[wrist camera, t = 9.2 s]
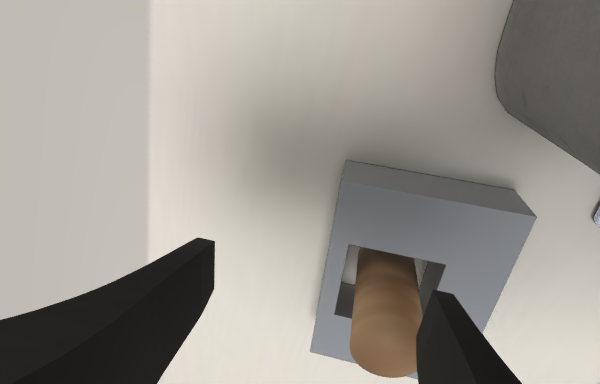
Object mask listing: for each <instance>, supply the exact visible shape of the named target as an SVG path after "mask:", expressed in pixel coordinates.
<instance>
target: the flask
mask: <svg viewBox="0 0 600 384" xmlns="http://www.w3.org/2000/svg"><path fill="white" fill-rule="evenodd" d="M495 80H496V88H497V96H498V98H499V100H500V101H501V103H502V104H503V106H504V108H505V109H506V111H507V112H508V113H509V114H511V115H512V116H514V117H515V118H517V119H518V120H519V121H521V122H522V123H524V124H525V125H527V126H528V127H530V128H531V129H533V130H534V131H536V132H537V133H539V134H540V135H542V136H543V137H545V138H546V139H548V140H549V141H551V142H552V143H554V144H555V145H557V146H558V147H560V148H561V149H563V150H564V151H566V152H567V153H569V154H570V155H572V156H573V157H575V158H576V159H578V160H579V161H581V162H582V163H584V164H585V165H587V166H588V167H590V168H591V169H593V170H594V171H596V172H597V173H599V174H600V0H514V2H513V5H512V8H511V11H510V13H509V16H508V19H507V22H506V25H505V29H504V32H503V35H502V39H501V42H500V46H499V49H498V54H497V63H496V71H495Z"/></svg>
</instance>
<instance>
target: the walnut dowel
mask: <svg viewBox="0 0 600 384" xmlns="http://www.w3.org/2000/svg"><path fill="white" fill-rule="evenodd" d="M422 319H423V317H422V310H421V303H420V296H419V289H418V282H417V275H416V269H415V262H414V258H412V257H408V256H403V255H398V254H393V253H389V252H384V251H379V250H374V249H370V248H365V247H362V248H361V250H360V252H359V255H358V264H357V274H356V284H355V294H354V304H353V314H352V324H351V335H350V352H351V355H352V357H353V359H354V360H355V361H356V363H357V364H358V365H359V366H361V367H362V368H363V369H365V370H366V371H368V372H370V373H373V374H375V375H378V376H382V377H390V378H396V377H404V376H408V375H410V374H413V373H415V372H416V371H417V364H416V335H417V333H418V330H419V327H420V324H421V321H422Z"/></svg>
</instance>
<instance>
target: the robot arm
mask: <svg viewBox="0 0 600 384" xmlns="http://www.w3.org/2000/svg"><path fill="white" fill-rule="evenodd" d="M594 222H595V223H596V224H597V225H598V226H599V227H600V207H599V209H598V210H597V212H596V214H595V216H594ZM214 259H215V241H211V240H207V239H202V238H196V239H194V240H192V241H190V242H188V243H186V244H185V245H183V246H181V247H179V248H177V249H176V250H174V251H172V252H170V253H169V254H167V255H165V256H163V257H161V258H159V259H157V260H156V261H154V262H152V263H150V264H148V265H146V266H144V267H142V268H140V269H138V270H137V271H134V272H132V273H130V274H128V275H126V276H124V277H122V278H120V279H118V280H116V281H114V282H111V283H109V284H107V285H105V286H102V287H100V288H98V289H95V290H93V291H90V292H87V293H85V294H82V295H80V296H77V297H74V298H71V299H69V300H65V301H62V302H59V303H57V304H53V305H50V306H47V307H44V308H41V309H39V310H35V311H32V312H28V313H25V314H21V315H18V316H14V317H10V318H7V319H3V320H0V384H157V383H158V381H159V379H160V378H161V376H162V374H163V373H164V371H165V370H166V368H167V367H168V365H169V364H170V362H171V361H172V359H173V358H174V356H175V354H176V353H177V351H178V350H179V348H180V347H181V345H182V344H183V342H184V341H185V339H186V338H187V336H188V335H189V333H190V332H191V330H192V329H193V327H194V326H195V324H196V322H197V321H198V319H199V318H200V316H201V315H202V313H203V311H204V309H205V307H206V305H207V303H208V300H209V298H210V296H211V294H212V292H213V290H214ZM416 364H417V375H418V382H419V384H522V383H521V382H520V381H519V380H518V378H517V377H516V376H515V375H514V374H513V372H512V371H511V370H510V369H509V368H508V366H507V365H506V364H505V363H504V362H503V360H502V359H501V358H500V357H499V355H498V354H497V353H496V352H495V350H494V349H493V348H492V346H491V345H490V344H489V342H488V341H487V340H486V338H485V337H484V336H483V334H482V333H481V332H480V330H479V329H478V328H477V326H476V325H475V323H474V322H473V321H472V319H471V318H470V316H469V315H468V314H467V312H466V311H465V309H464V308H463V307H462V305H461V304H460V302H459V301H458V300H457V298H456V297H455V295H454V294H452V293H447V292H443V291H438V290H434V289H433V291H432V294H431V296H430V299H429V302H428V305H427V308H426V310H425V313H424V316H423V319H422V321H421V324H420V327H419V330H418V333H417V335H416Z"/></svg>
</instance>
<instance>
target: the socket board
mask: <svg viewBox="0 0 600 384" xmlns="http://www.w3.org/2000/svg"><path fill="white" fill-rule="evenodd" d="M536 218H537V217H536V215H535V214H534V213H533V212H532V211H531V209H530V208H529V207H528V206H527V205H526V203H525V202H524V201H523V200H522V198H521V197H520V196H519V195H518V194H517V192H516V191H515V190H511V189H505V188H499V187H494V186H488V185H483V184H477V183H471V182H466V181H460V180H455V179H449V178H444V177H438V176H432V175H427V174H421V173H416V172H410V171H405V170H399V169H393V168H388V167H382V166H377V165H371V164H366V163H360V162H354V161H349V160H346V163H345V167H344V171H343V174H342V178H341V183H340V188H339V194H338V200H337V205H336V211H335V216H334V222H333V227H332V233H331V238H330V244H329V249H328V255H327V260H326V266H325V271H324V277H323V282H322V288H321V293H320V299H319V304H318V310H317V315H316V321H315V326H314V332H313V337H312V343H311V348H310V352H313V353H316V354H320V355H324V356H328V357H332V358H336V359H340V360H344V361H348V362H352V363H356V361H355V360H354V359H353V357H352V355H351V352H350V335H351V324H352V314H353V304H354V294H355V286H354V285H350V284H345V283H341V279H342V274H343V269H344V265H345V260H346V255H347V250H348V246H349V244H351V245H355V246H360V247H365V248H370V249H374V250H379V251H384V252H389V253H393V254H398V255H403V256H408V257H412V258H417V259H422V260H427V261H429V262H428V265H427V268H426V271H425V274H424V277H423V280H422V283H421V286H420V289H419V296H420V303H421V310H422V317H423V316H424V313H425V310H426V308H427V305H428V302H429V299H430V296H431V294H432V291H433V289H434V290H438V291H443V292H447V293H452V294H454V295H455V297H456V298H457V300H458V301H459V302H460V304H461V305H462V307H463V308H464V309H465V311H466V312H467V314H468V315H469V316H470V318H471V319H472V321H473V322H474V323H475V325H476V326H477V328H478V329H479V330H480V332H481V333H483V331H484V329H485V326H486V324H487V322H488V320H489V318H490V316H491V314H492V312H493V309H494V307H495V305H496V303H497V301H498V299H499V297H500V294H501V292H502V290H503V288H504V286H505V284H506V282H507V280H508V277H509V275H510V273H511V271H512V269H513V267H514V265H515V263H516V260H517V258H518V256H519V254H520V252H521V250H522V248H523V245H524V243H525V241H526V239H527V237H528V235H529V233H530V231H531V228H532V226H533V224H534V222H535V220H536ZM356 364H357V363H356ZM407 377H411V378H415V379H418V375H417V371H416V372H415V373H413V374H410V375H408V376H407Z"/></svg>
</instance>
